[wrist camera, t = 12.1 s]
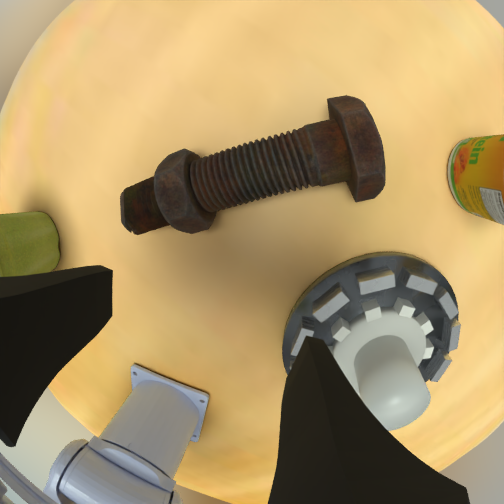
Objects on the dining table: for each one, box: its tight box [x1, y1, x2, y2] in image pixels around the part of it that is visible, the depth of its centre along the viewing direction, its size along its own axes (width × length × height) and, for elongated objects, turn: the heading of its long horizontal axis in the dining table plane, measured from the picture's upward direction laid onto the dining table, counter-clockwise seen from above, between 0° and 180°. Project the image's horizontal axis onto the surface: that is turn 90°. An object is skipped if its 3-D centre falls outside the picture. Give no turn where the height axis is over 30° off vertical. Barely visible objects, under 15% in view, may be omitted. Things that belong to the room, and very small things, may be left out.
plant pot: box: [0, 211, 60, 277], centre depth 17 cm, size 9×9×9 cm
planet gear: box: [328, 297, 434, 431], centre depth 14 cm, size 8×8×6 cm
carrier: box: [282, 252, 461, 382], centre depth 17 cm, size 14×14×2 cm
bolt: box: [120, 95, 385, 235], centre depth 15 cm, size 6×5×15 cm
